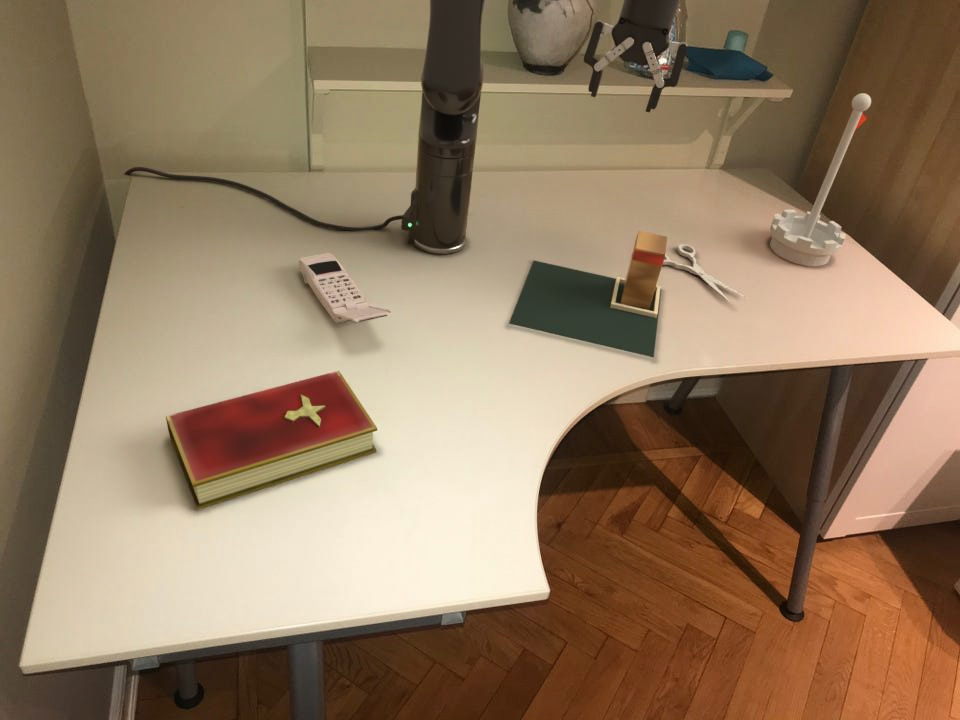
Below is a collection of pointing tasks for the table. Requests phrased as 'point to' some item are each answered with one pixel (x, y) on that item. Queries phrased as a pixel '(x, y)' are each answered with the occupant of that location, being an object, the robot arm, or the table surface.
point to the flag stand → (816, 210)
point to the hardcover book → (269, 437)
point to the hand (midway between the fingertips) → (620, 103)
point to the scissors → (696, 269)
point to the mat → (585, 309)
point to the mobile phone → (337, 289)
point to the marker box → (644, 270)
